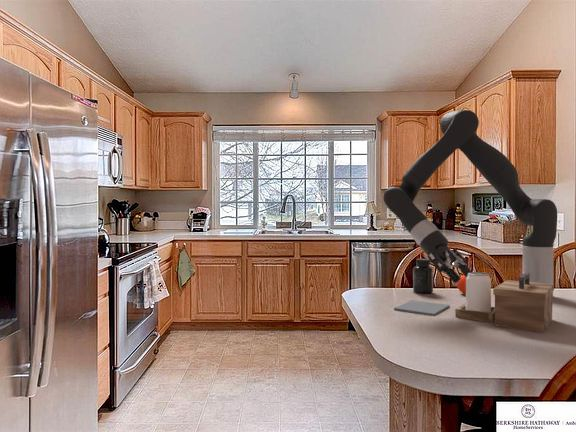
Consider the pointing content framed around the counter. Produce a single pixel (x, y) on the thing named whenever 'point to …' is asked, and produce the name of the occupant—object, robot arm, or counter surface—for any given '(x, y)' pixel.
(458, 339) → the counter surface
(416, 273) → the supplement bottle
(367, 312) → the counter surface
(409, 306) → the mat
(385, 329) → the counter surface
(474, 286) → the can
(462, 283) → the clementine
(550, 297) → the toolbox
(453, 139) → the robot arm
